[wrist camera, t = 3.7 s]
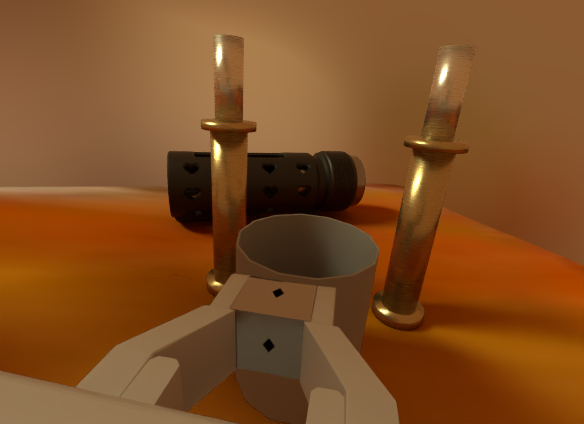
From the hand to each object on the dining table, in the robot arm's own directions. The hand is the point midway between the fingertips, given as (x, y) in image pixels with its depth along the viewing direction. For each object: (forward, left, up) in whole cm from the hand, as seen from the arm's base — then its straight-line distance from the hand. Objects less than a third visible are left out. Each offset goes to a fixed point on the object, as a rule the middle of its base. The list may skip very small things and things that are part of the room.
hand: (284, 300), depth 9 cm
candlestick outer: (+8, +17, -12) cm, 22 cm away
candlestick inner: (-8, +17, -12) cm, 23 cm away
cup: (0, +9, -13) cm, 16 cm away
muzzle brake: (-9, +36, -13) cm, 40 cm away
